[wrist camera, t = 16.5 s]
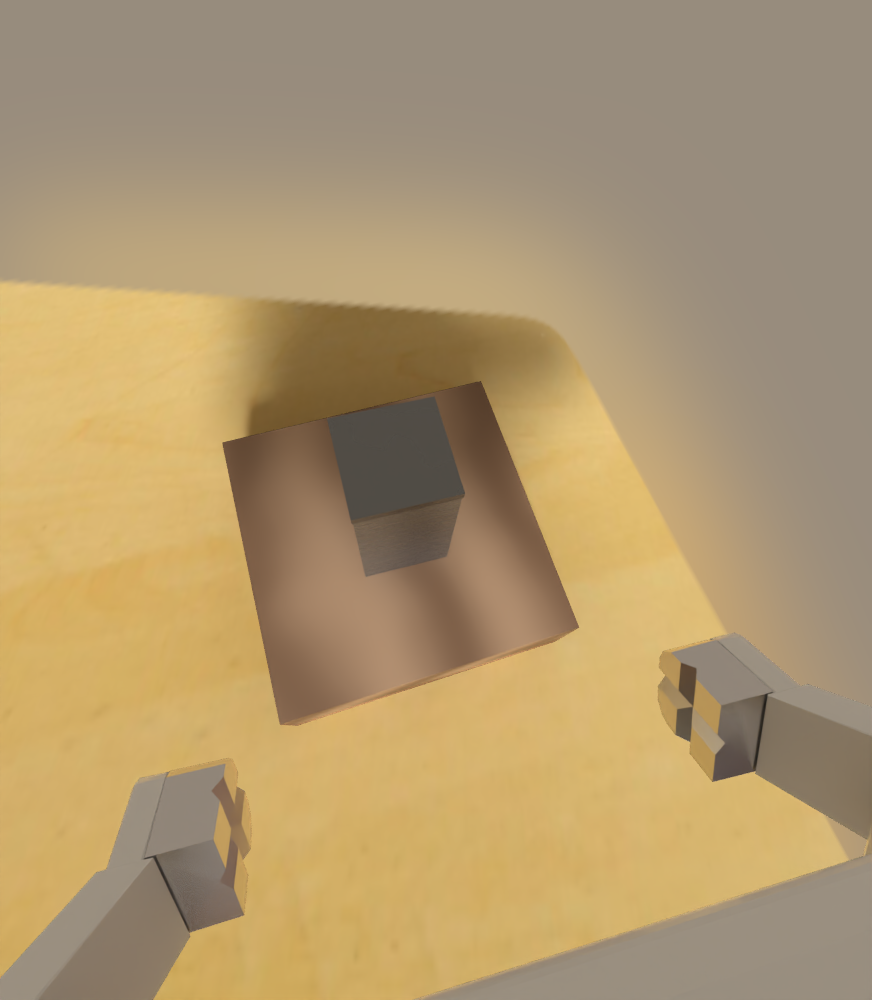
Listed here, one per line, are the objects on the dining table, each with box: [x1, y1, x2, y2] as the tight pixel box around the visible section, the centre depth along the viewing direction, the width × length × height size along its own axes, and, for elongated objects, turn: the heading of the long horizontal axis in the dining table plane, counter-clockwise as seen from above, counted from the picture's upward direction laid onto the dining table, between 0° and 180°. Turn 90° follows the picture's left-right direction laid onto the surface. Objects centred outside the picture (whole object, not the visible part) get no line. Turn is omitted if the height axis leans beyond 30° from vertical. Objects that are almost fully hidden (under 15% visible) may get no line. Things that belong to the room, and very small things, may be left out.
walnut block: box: [223, 381, 579, 726], centre depth 30 cm, size 14×14×5 cm
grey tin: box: [327, 396, 465, 577], centre depth 24 cm, size 4×4×8 cm
